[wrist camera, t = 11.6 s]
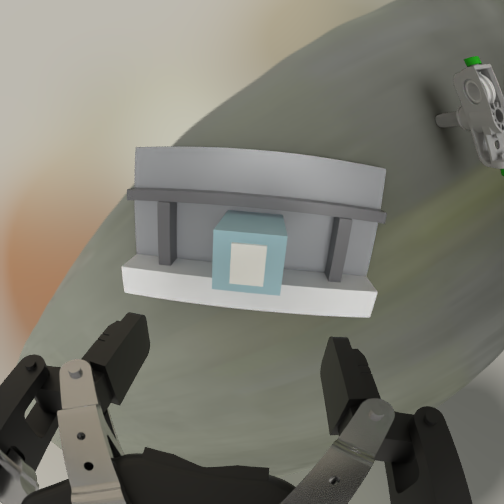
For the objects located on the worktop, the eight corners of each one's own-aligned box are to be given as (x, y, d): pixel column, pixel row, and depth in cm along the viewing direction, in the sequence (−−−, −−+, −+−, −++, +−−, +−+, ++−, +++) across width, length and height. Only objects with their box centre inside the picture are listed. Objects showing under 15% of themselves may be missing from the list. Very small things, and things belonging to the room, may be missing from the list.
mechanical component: (445, 168, 23) (507, 180, 13) (412, 79, 20) (468, 56, 11) (462, 160, 22) (523, 170, 13) (431, 75, 19) (487, 55, 10)
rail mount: (381, 168, 24) (402, 171, 19) (352, 311, 29) (363, 335, 25) (140, 147, 24) (117, 147, 20) (144, 290, 30) (127, 311, 25)
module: (282, 214, 25) (287, 237, 18) (277, 260, 26) (279, 297, 19) (228, 209, 25) (212, 230, 18) (225, 255, 26) (211, 290, 20)
